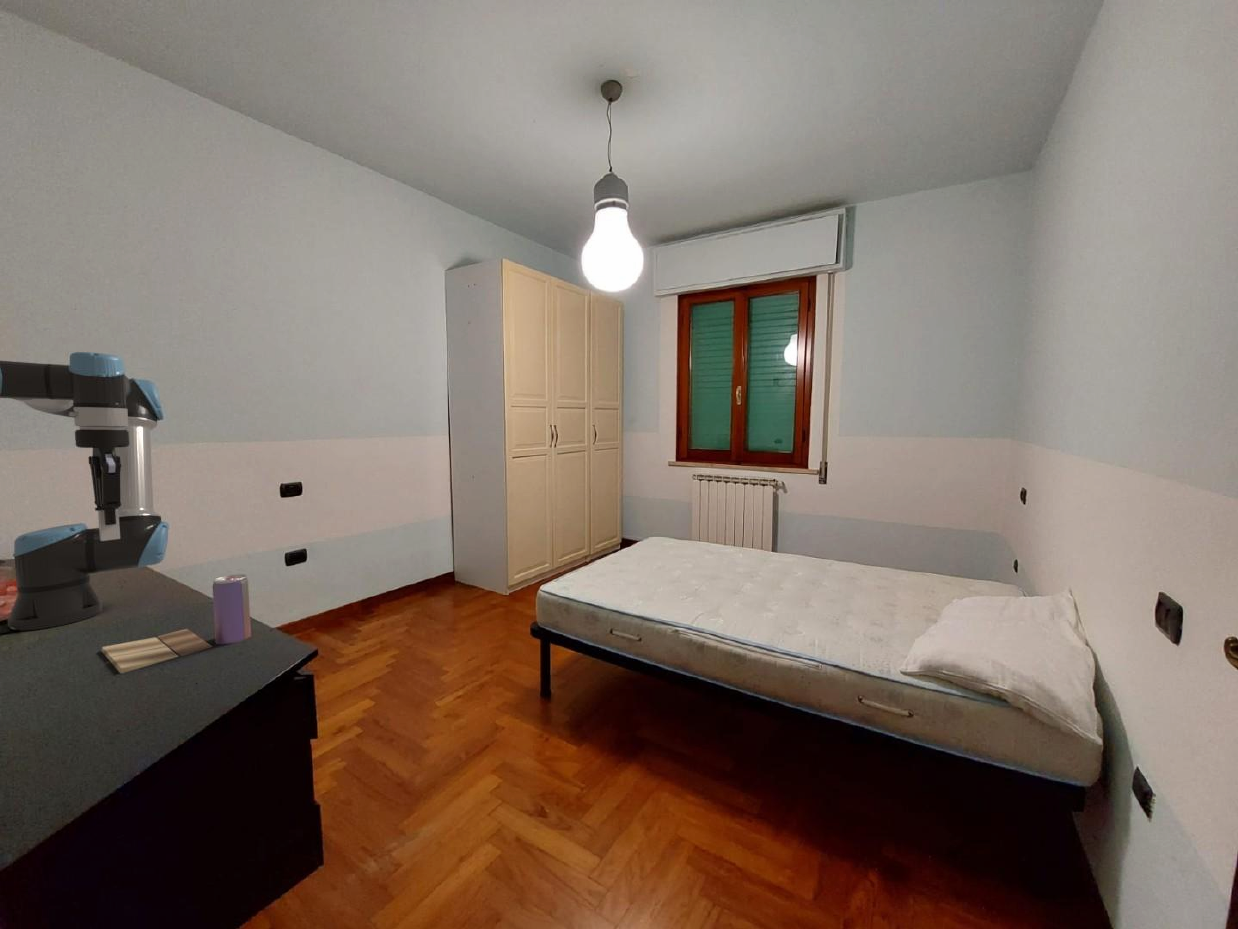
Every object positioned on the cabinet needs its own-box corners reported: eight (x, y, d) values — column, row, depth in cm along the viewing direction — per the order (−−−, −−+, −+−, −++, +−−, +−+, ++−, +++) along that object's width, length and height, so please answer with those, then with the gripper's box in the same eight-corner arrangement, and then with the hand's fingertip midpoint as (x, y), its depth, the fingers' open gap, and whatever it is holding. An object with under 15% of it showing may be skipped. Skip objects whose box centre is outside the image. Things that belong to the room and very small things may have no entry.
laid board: (157, 643, 103) (157, 636, 103) (187, 634, 107) (187, 628, 107) (181, 663, 93) (180, 656, 93) (213, 653, 97) (212, 646, 97)
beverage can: (231, 652, 98) (227, 583, 97) (208, 649, 99) (204, 581, 98) (258, 640, 104) (254, 574, 103) (236, 638, 105) (233, 573, 104)
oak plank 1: (101, 654, 95) (102, 647, 96) (155, 644, 102) (155, 637, 102) (110, 664, 91) (110, 657, 91) (165, 653, 98) (166, 646, 98)
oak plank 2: (110, 664, 91) (111, 657, 91) (166, 653, 97) (166, 646, 98) (120, 676, 86) (121, 668, 86) (177, 663, 93) (178, 656, 93)
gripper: (68, 427, 97) (77, 538, 99) (81, 428, 90) (90, 547, 91) (120, 428, 103) (127, 532, 105) (136, 429, 96) (143, 540, 98)
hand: (110, 539), depth 98 cm, fingers closed
